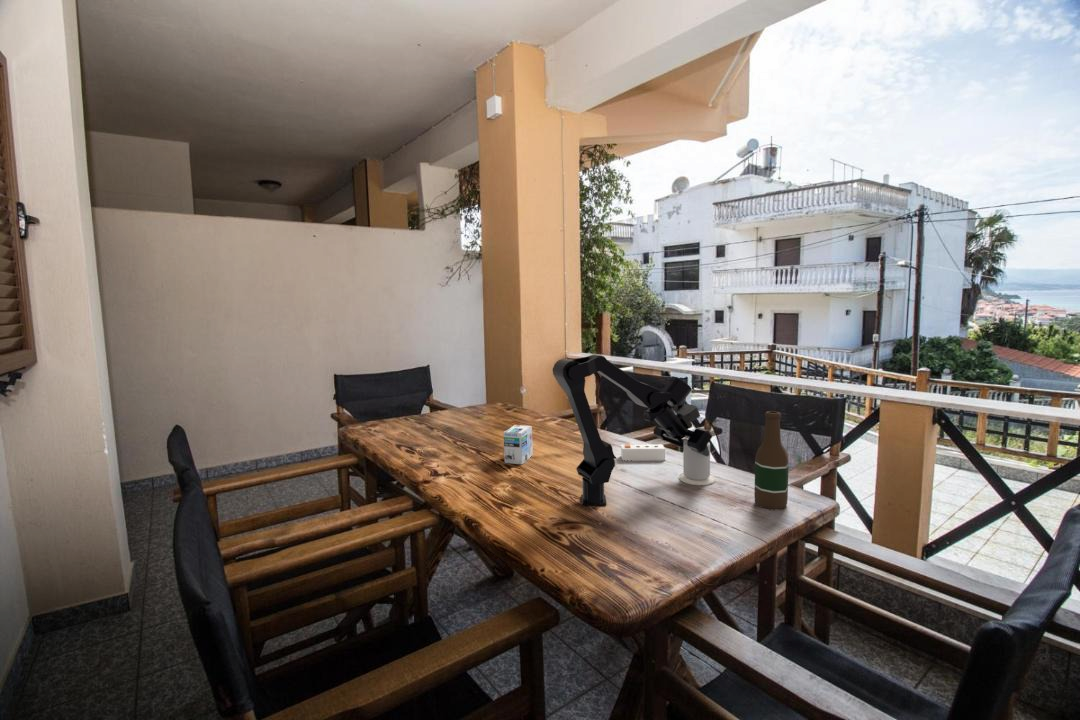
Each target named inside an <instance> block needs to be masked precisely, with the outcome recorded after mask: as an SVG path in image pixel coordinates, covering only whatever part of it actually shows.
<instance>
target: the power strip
mask: <svg viewBox="0 0 1080 720" xmlns="http://www.w3.org/2000/svg"><path fill="white" fill-rule="evenodd" d="M620 457H621V460H623V461H622V462H633V461H634V462H635V461H639V462H641V461H643V462H646V461H647V462H651V461H652V462H655V461H666V448H665V446H664V445H663V444H661V443H660V444H629V443H624V444H620ZM624 460H625V461H624ZM627 460H628V461H627ZM631 460H632V461H631Z"/></svg>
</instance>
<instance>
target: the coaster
mask: <svg viewBox="0 0 1080 720" xmlns="http://www.w3.org/2000/svg"><path fill="white" fill-rule="evenodd" d="M678 476H679V477H678V478H679V480H680V481H681V482H683V483H684V484H687V485H692V486H701V485H702V486H710V485H712V484H714V483H715V482H716V478H715V476H714V475H712V474H710V476H709V477H708V478H707V479H706V480H703V481H694V480H690V479H688V478H687V477H686V476H685V475H684V474H683V472H681V473H680V474H679V475H678Z"/></svg>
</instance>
